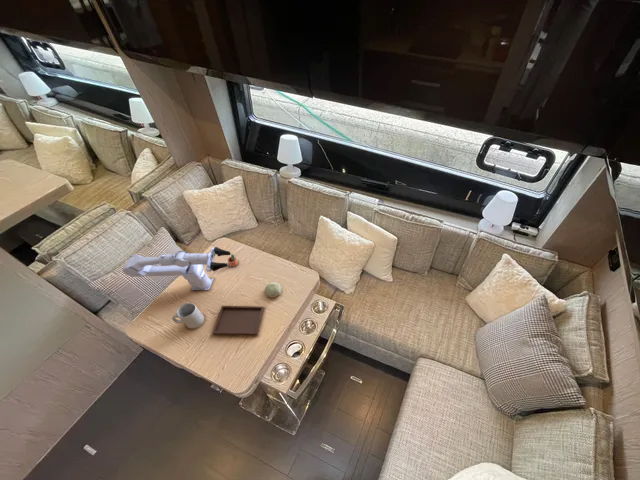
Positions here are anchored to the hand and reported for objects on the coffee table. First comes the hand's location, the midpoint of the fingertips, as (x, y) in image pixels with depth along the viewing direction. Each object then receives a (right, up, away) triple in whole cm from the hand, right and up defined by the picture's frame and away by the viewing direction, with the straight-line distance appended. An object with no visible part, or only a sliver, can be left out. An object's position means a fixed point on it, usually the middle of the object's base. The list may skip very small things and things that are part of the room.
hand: (228, 259), depth 142 cm
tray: (+6, -32, 0) cm, 33 cm away
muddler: (-8, -2, +25) cm, 26 cm away
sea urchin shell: (+20, -18, +13) cm, 30 cm away
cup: (-8, -2, +25) cm, 26 cm away
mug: (-18, -33, -1) cm, 37 cm away
